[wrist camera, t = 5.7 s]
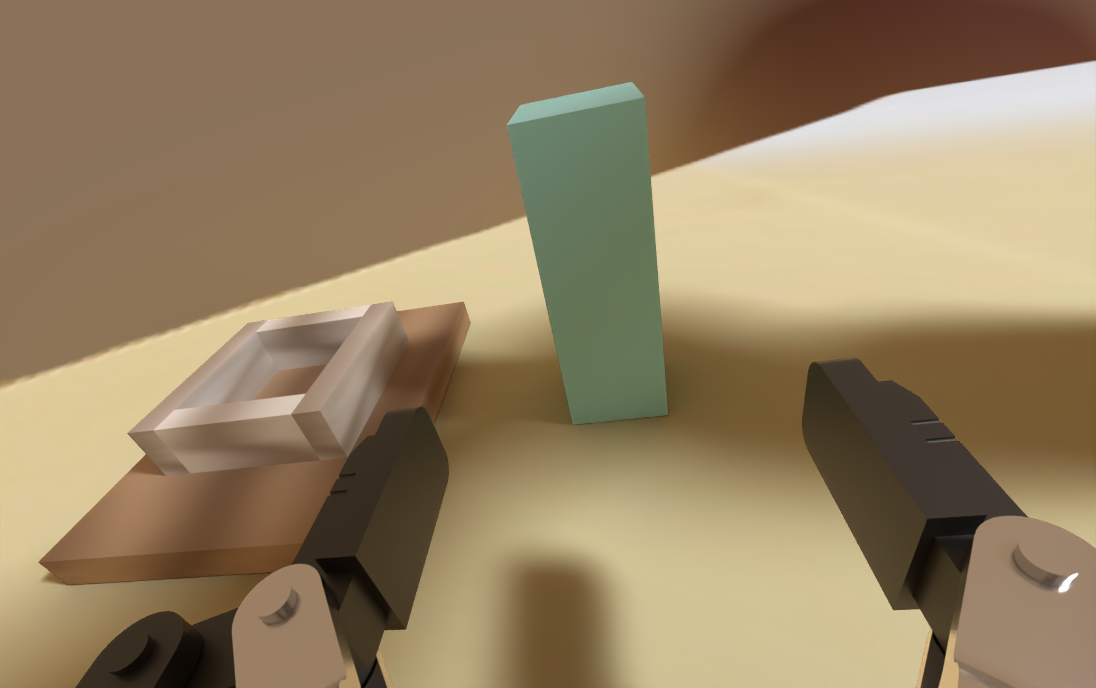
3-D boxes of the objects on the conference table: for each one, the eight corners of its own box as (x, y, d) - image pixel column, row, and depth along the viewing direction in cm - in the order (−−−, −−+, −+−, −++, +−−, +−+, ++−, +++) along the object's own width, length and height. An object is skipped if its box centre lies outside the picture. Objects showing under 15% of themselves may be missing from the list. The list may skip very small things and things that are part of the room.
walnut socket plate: (470, 322, 30) (451, 263, 28) (382, 564, 17) (333, 487, 14) (281, 349, 32) (249, 296, 30) (67, 585, 19) (-18, 519, 16)
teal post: (655, 358, 23) (631, 82, 17) (668, 415, 20) (644, 97, 14) (573, 368, 24) (520, 104, 17) (572, 424, 21) (506, 125, 14)
